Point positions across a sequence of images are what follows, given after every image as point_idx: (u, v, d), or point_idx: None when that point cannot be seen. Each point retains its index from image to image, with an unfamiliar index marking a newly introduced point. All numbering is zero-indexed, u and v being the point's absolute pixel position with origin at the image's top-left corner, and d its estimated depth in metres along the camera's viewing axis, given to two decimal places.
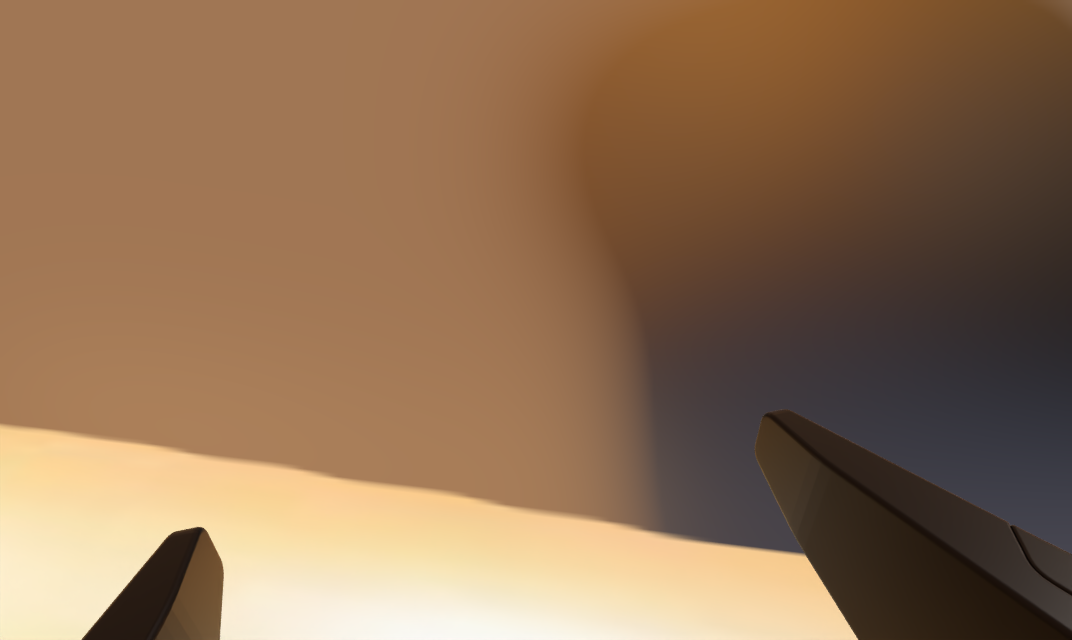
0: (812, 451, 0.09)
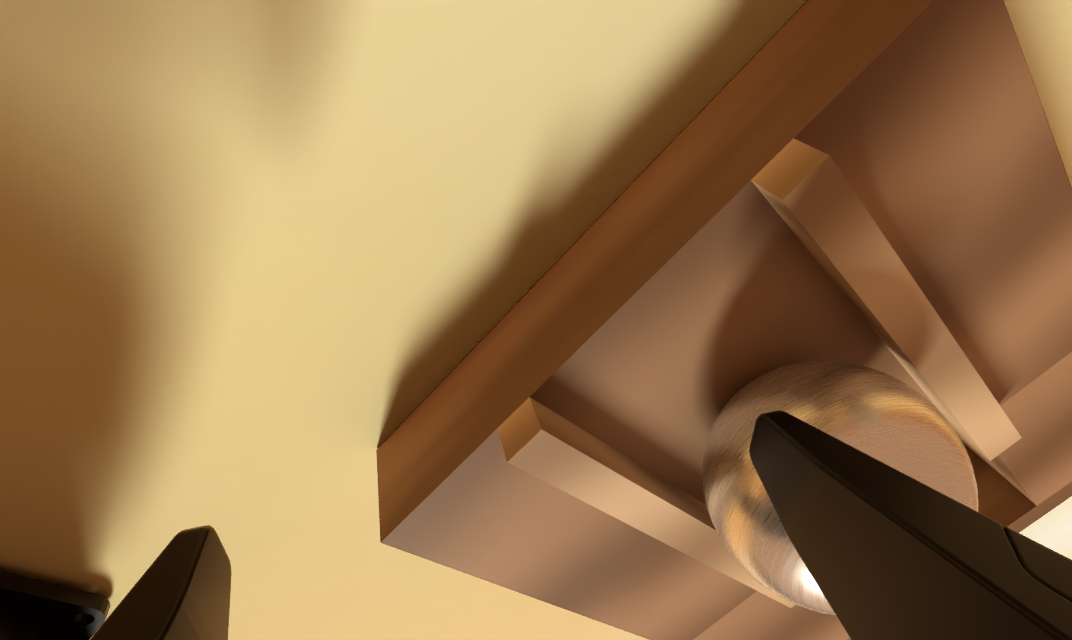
0: (806, 452, 0.09)
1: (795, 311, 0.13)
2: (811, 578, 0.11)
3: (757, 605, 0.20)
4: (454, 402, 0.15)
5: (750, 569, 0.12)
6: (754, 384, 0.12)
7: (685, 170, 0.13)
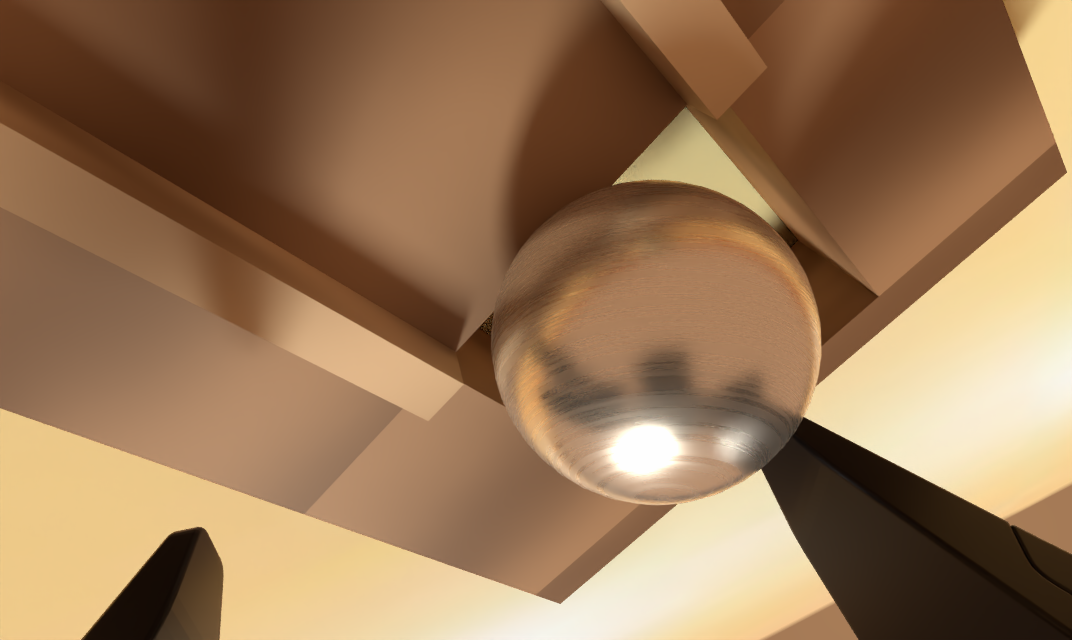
0: (812, 451, 0.09)
1: None
2: None
3: (418, 438, 0.12)
4: None
5: None
6: None
7: None
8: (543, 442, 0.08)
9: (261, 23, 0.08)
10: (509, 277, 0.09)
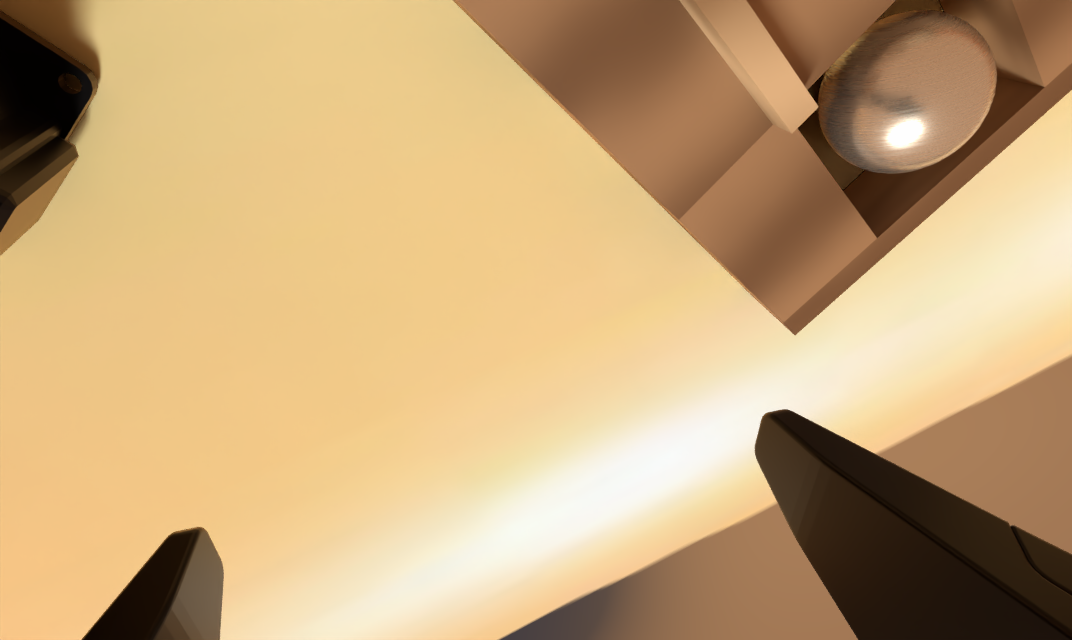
0: (812, 451, 0.09)
1: None
2: None
3: (758, 166, 0.19)
4: None
5: (821, 84, 0.21)
6: None
7: None
8: (897, 168, 0.20)
9: None
10: (922, 102, 0.18)
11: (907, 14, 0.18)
